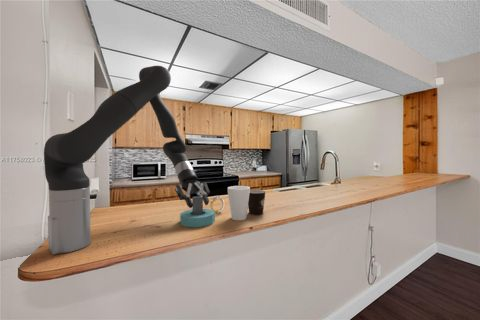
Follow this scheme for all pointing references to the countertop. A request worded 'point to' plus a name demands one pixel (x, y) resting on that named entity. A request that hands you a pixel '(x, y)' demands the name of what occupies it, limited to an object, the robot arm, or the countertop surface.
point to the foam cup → (238, 201)
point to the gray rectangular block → (197, 205)
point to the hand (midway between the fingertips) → (199, 205)
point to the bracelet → (215, 200)
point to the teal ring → (197, 218)
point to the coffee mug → (256, 202)
